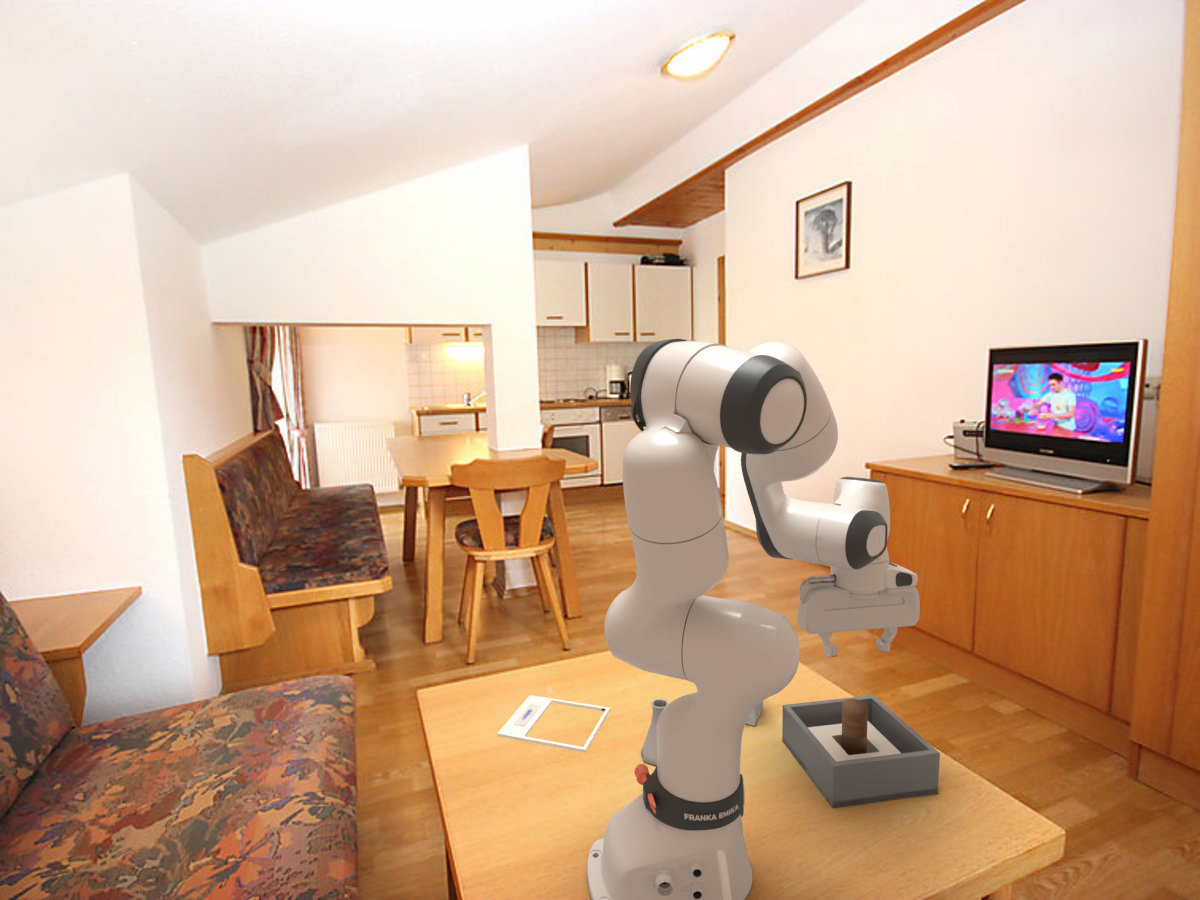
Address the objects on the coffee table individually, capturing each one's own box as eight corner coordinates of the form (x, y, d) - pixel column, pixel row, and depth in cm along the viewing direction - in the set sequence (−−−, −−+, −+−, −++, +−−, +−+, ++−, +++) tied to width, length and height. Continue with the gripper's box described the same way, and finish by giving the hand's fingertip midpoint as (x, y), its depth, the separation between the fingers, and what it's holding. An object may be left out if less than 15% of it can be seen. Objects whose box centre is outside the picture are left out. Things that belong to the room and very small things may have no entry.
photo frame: (529, 694, 131) (610, 706, 125) (530, 699, 131) (610, 712, 125) (497, 732, 117) (585, 748, 112) (497, 737, 118) (585, 754, 112)
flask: (679, 770, 106) (678, 715, 105) (637, 765, 107) (636, 712, 106) (682, 745, 113) (681, 693, 112) (643, 741, 114) (642, 690, 113)
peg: (849, 768, 104) (850, 712, 102) (836, 753, 107) (837, 700, 106) (871, 765, 104) (872, 710, 103) (858, 751, 108) (859, 697, 107)
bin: (832, 807, 96) (833, 766, 95) (782, 740, 113) (782, 704, 113) (937, 793, 98) (939, 753, 97) (872, 730, 116) (873, 695, 115)
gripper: (809, 583, 97) (807, 667, 99) (927, 575, 100) (924, 656, 102) (791, 571, 103) (790, 650, 105) (902, 563, 106) (900, 640, 108)
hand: (856, 653), depth 103 cm, fingers open, 8 cm apart
